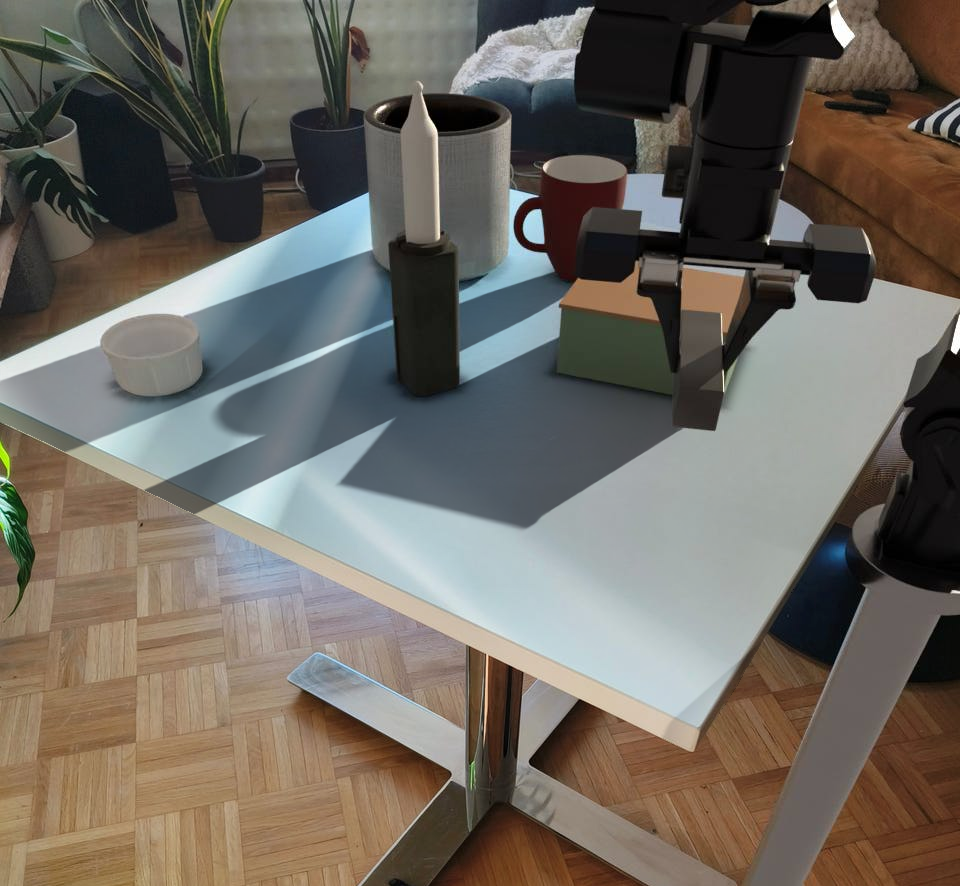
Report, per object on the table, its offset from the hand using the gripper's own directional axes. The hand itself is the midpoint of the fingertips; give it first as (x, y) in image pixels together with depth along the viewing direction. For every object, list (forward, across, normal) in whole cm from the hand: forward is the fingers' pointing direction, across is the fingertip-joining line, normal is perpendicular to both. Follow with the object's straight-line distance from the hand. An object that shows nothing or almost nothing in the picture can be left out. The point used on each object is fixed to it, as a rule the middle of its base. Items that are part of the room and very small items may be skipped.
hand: (696, 372), depth 65 cm
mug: (+11, +13, -42) cm, 45 cm away
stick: (+1, 0, 0) cm, 1 cm away
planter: (+12, +28, -43) cm, 53 cm away
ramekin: (+12, +49, -11) cm, 51 cm away
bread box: (+11, +3, -23) cm, 26 cm away
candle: (+11, +24, -15) cm, 30 cm away
